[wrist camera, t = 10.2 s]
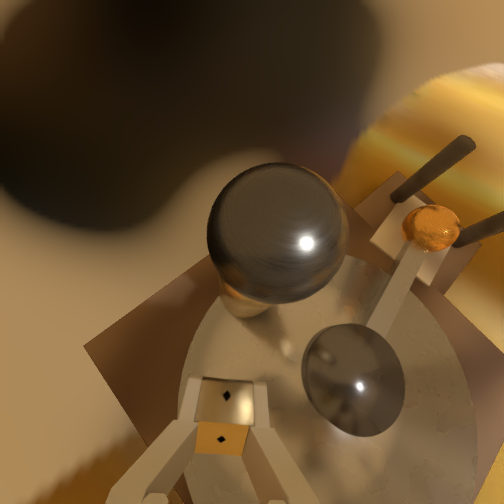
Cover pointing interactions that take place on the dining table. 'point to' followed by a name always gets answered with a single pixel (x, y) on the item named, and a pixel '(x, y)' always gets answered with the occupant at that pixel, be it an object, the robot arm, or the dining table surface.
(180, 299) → the stand
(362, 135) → the dining table surface
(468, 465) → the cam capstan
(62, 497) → the dining table surface
